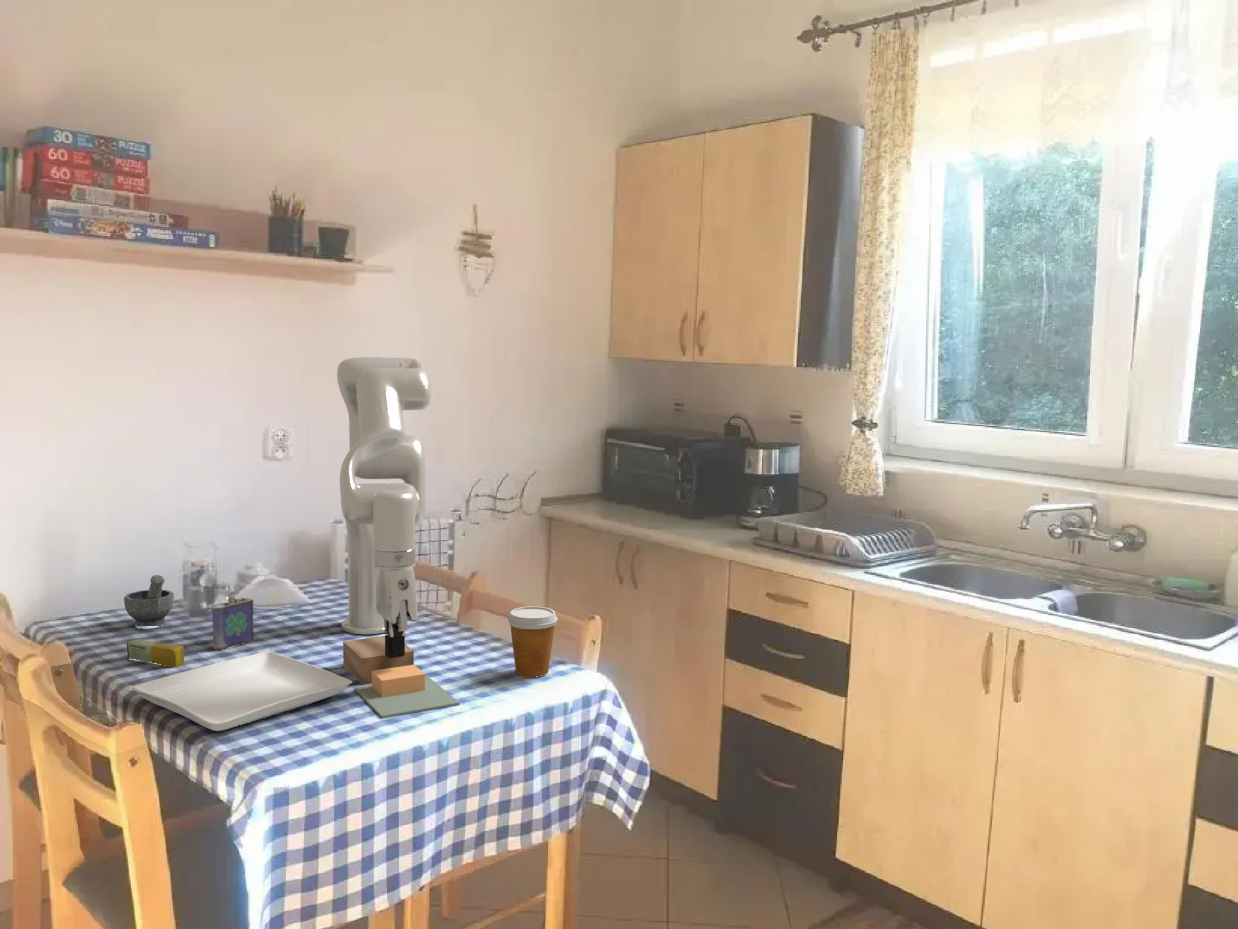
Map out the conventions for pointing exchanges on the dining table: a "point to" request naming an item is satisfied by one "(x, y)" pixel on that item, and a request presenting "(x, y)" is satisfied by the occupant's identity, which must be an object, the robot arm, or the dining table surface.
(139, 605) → the mortar and pestle
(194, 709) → the square plate
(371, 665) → the walnut block
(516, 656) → the disposable coffee cup
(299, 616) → the dining table surface
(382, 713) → the rubber mat
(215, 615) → the flask
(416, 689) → the orange block
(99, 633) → the dining table surface
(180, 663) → the medication box
